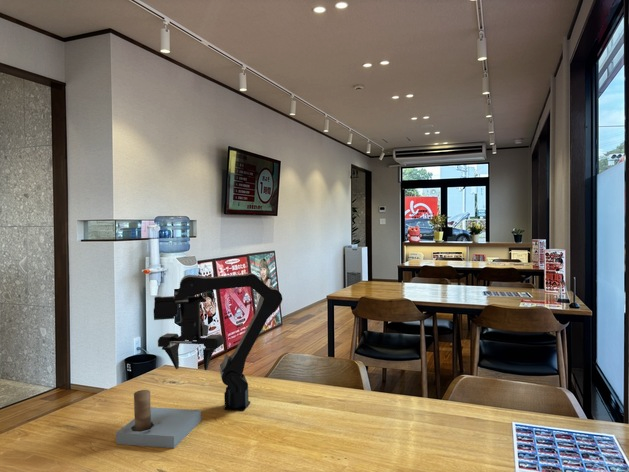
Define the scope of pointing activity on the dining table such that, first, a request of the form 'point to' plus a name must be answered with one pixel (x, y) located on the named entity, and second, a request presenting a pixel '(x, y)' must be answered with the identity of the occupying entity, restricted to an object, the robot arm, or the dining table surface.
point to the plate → (161, 428)
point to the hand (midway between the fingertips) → (191, 369)
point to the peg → (142, 410)
